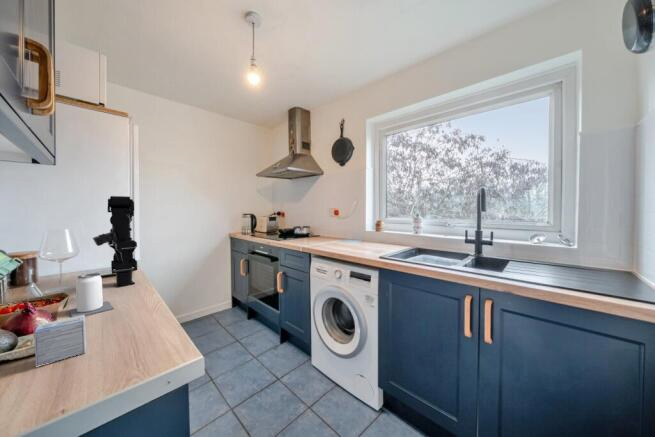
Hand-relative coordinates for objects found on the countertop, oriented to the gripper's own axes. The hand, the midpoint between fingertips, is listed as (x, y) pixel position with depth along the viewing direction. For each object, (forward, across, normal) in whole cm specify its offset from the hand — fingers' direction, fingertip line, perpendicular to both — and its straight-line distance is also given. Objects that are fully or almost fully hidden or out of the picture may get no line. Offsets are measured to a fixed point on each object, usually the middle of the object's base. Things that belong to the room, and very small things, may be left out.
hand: (122, 262), depth 99 cm
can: (+13, +13, -11) cm, 21 cm away
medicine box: (+13, +44, -20) cm, 50 cm away
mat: (+13, +13, -11) cm, 21 cm away
